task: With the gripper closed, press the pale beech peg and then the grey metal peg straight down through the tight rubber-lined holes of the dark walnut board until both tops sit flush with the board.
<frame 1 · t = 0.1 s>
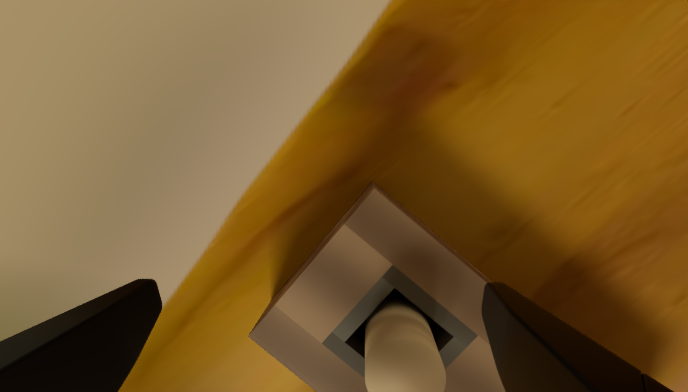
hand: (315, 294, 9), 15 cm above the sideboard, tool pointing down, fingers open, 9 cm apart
walnut board: (453, 353, 25), on the sideboard
beech peg: (400, 350, 19), point 6 cm above the sideboard, slide at 0.0 cm
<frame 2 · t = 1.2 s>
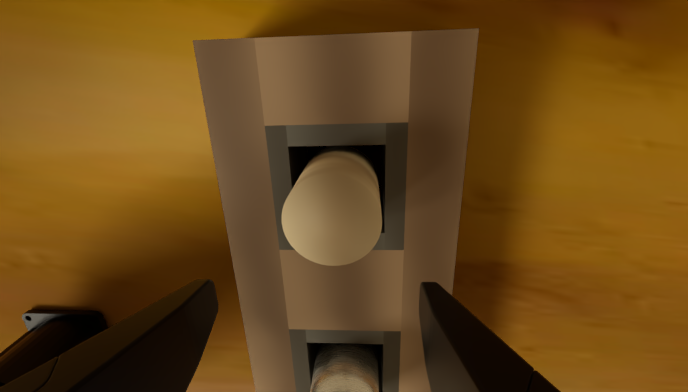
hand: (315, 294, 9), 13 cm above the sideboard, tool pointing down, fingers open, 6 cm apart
walnut board: (347, 246, 23), on the sideboard
beech peg: (336, 199, 16), point 6 cm above the sideboard, slide at 0.0 cm
metal peg: (344, 387, 20), point 6 cm above the sideboard, slide at 0.0 cm
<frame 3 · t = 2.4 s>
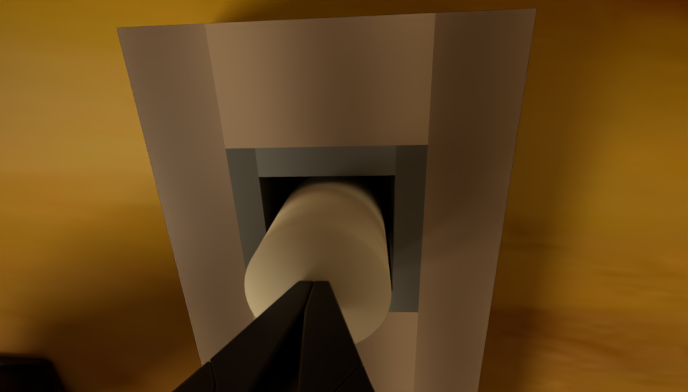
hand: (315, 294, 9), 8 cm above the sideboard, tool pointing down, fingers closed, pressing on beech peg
walnut board: (343, 288, 19), on the sideboard
beech peg: (326, 248, 11), point 6 cm above the sideboard, slide at 0.3 cm, touching gripper
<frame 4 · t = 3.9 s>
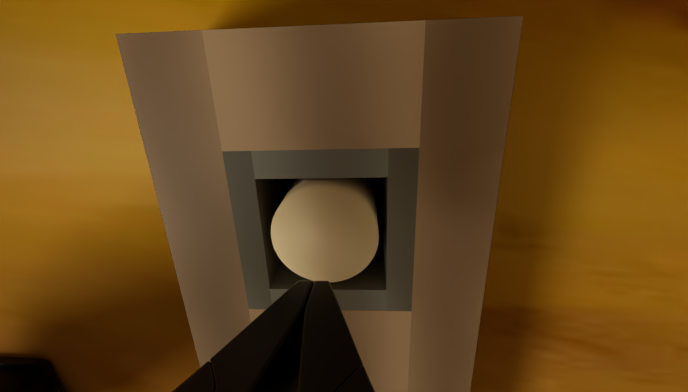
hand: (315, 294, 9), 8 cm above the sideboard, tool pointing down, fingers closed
walnut board: (340, 288, 19), on the sideboard
beech peg: (330, 210, 15), point 3 cm above the sideboard, slide at 3.5 cm
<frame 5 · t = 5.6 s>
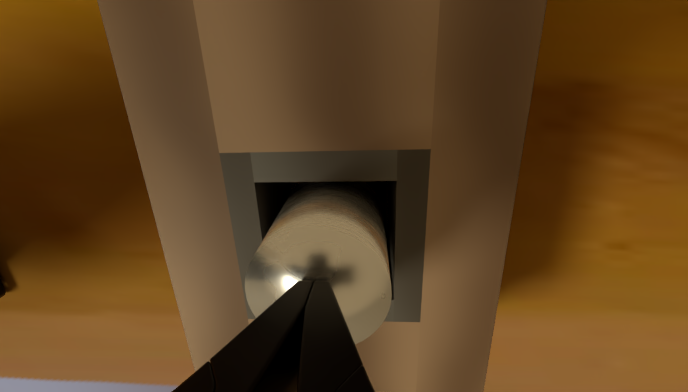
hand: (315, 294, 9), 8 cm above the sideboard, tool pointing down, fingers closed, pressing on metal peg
walnut board: (333, 59, 14), on the sideboard
metal peg: (327, 248, 11), point 5 cm above the sideboard, slide at 0.8 cm, touching gripper
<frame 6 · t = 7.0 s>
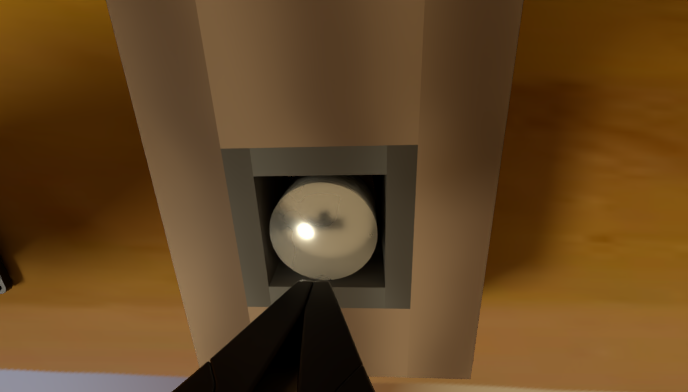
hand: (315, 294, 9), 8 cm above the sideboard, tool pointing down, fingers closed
walnut board: (328, 60, 15), on the sideboard
metal peg: (329, 208, 15), point 3 cm above the sideboard, slide at 3.6 cm
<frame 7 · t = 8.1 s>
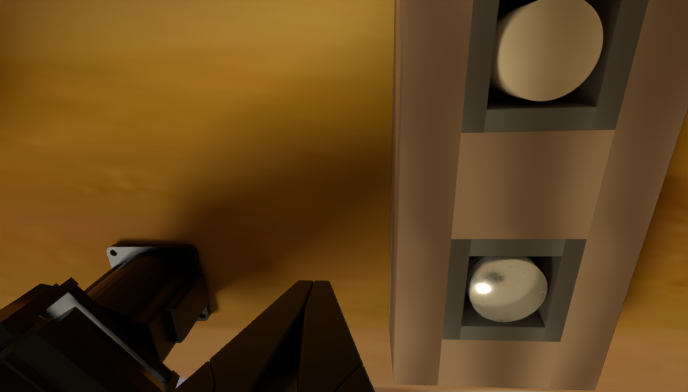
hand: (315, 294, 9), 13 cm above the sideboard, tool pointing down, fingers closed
walnut board: (490, 160, 21), on the sideboard
beech peg: (524, 52, 16), point 3 cm above the sideboard, slide at 3.5 cm
metal peg: (492, 267, 20), point 3 cm above the sideboard, slide at 3.6 cm
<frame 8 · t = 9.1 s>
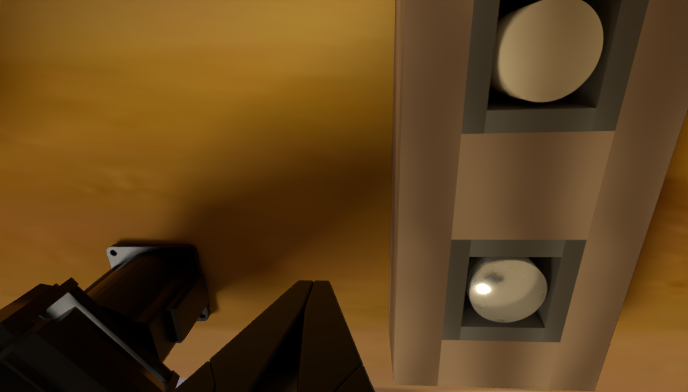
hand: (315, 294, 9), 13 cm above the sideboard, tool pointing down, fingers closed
walnut board: (490, 161, 21), on the sideboard
beech peg: (525, 53, 16), point 3 cm above the sideboard, slide at 3.5 cm
metal peg: (492, 268, 20), point 3 cm above the sideboard, slide at 3.6 cm
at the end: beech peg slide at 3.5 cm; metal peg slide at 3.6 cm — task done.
